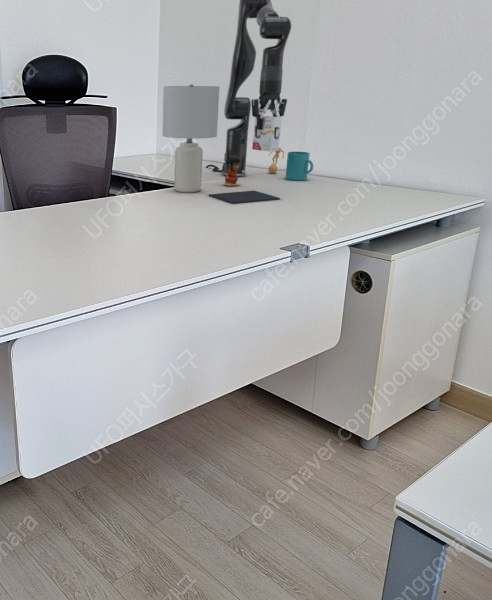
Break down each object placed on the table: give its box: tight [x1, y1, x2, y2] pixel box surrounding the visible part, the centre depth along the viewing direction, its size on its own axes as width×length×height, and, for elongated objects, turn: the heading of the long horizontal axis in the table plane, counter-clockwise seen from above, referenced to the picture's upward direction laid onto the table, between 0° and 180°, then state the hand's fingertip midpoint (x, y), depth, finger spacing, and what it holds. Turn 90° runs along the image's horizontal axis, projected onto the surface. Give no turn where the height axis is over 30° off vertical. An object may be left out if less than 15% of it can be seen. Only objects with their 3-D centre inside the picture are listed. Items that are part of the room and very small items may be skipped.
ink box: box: [251, 115, 283, 152], centre depth 214 cm, size 9×5×12 cm, turn 39°
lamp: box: [162, 83, 220, 193], centre depth 223 cm, size 20×20×39 cm
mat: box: [208, 190, 281, 205], centre depth 217 cm, size 16×20×1 cm
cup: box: [284, 151, 314, 182], centre depth 253 cm, size 9×12×11 cm
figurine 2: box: [267, 147, 285, 175], centre depth 270 cm, size 8×6×12 cm
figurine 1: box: [224, 155, 241, 187], centre depth 239 cm, size 6×6×12 cm
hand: (267, 129), depth 213 cm, fingers closed on ink box, 5 cm apart
